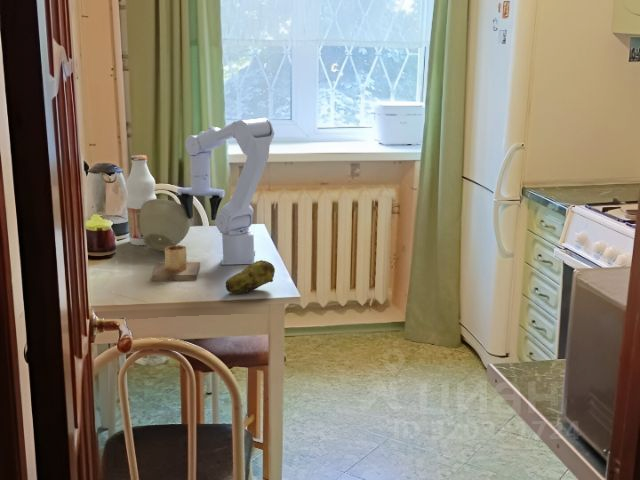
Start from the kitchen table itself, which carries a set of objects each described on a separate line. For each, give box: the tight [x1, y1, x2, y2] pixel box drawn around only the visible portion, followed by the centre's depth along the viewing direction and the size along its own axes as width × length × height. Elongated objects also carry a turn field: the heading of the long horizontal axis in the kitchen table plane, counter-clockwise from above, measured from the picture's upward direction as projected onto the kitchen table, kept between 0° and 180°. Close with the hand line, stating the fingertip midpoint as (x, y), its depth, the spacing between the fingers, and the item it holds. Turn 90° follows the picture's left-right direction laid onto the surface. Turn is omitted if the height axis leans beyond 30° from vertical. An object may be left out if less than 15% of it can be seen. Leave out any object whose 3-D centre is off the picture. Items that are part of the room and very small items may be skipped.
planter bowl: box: [139, 198, 193, 252], centre depth 241 cm, size 16×16×11 cm
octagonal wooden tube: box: [164, 244, 188, 272], centre depth 220 cm, size 6×6×6 cm
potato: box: [225, 259, 276, 295], centre depth 205 cm, size 8×13×8 cm, turn 95°
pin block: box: [151, 261, 201, 282], centre depth 220 cm, size 12×12×6 cm
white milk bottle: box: [125, 154, 158, 246], centre depth 250 cm, size 9×9×28 cm
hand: (202, 218), depth 240 cm, fingers open, 7 cm apart
